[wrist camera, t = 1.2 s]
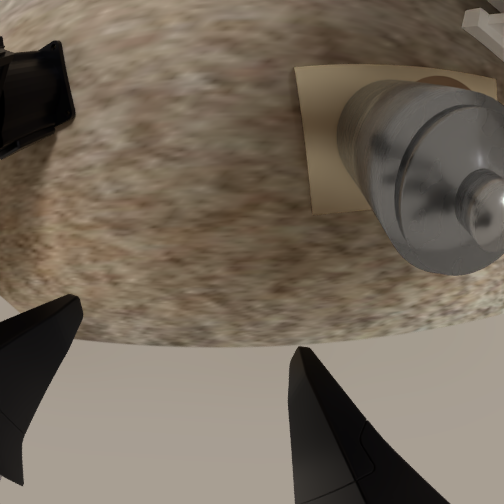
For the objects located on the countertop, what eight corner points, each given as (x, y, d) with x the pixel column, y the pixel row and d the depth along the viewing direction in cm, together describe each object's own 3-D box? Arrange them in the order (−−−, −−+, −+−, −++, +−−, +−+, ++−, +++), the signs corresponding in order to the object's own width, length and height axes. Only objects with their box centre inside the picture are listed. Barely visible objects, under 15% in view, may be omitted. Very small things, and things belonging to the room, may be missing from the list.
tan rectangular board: (293, 67, 15) (294, 67, 14) (491, 78, 12) (496, 79, 12) (311, 211, 20) (312, 215, 19) (485, 198, 18) (490, 202, 17)
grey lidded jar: (329, 80, 14) (405, 86, 5) (443, 83, 13) (574, 119, 4) (340, 199, 18) (390, 324, 9) (442, 192, 17) (534, 293, 8)
